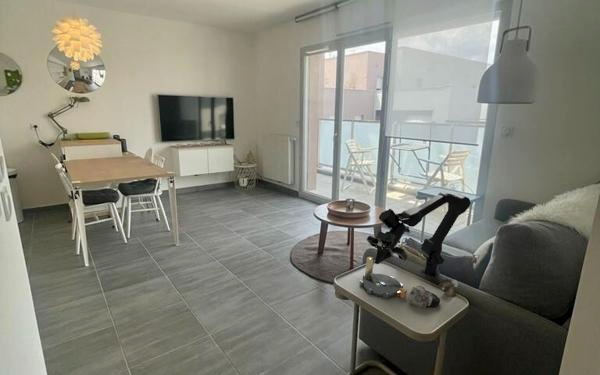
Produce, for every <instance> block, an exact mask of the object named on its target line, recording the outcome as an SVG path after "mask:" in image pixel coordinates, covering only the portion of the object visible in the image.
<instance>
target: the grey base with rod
mask: <svg viewBox="0 0 600 375" xmlns="http://www.w3.org/2000/svg"><path fill="white" fill-rule="evenodd" d="M365 262H366V263H365V272H364V274H363V275H362V279H360V280H359V286H360V287H361V288H363V289H364V291H366V293H367V294H369V295H373V296H376V297H380V298H382V299H387V300H388V299H389V298H394V297H398V298H400V295H401V290H400V288H402V289H404V284H403V283H402V282H399V281H398V280H397V279H396V277H395V276H393V275H387V274H384V273H380V272H375V273H373V271H374V264H375V258H374V257H372V256H367V257H366V261H365Z"/></svg>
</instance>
